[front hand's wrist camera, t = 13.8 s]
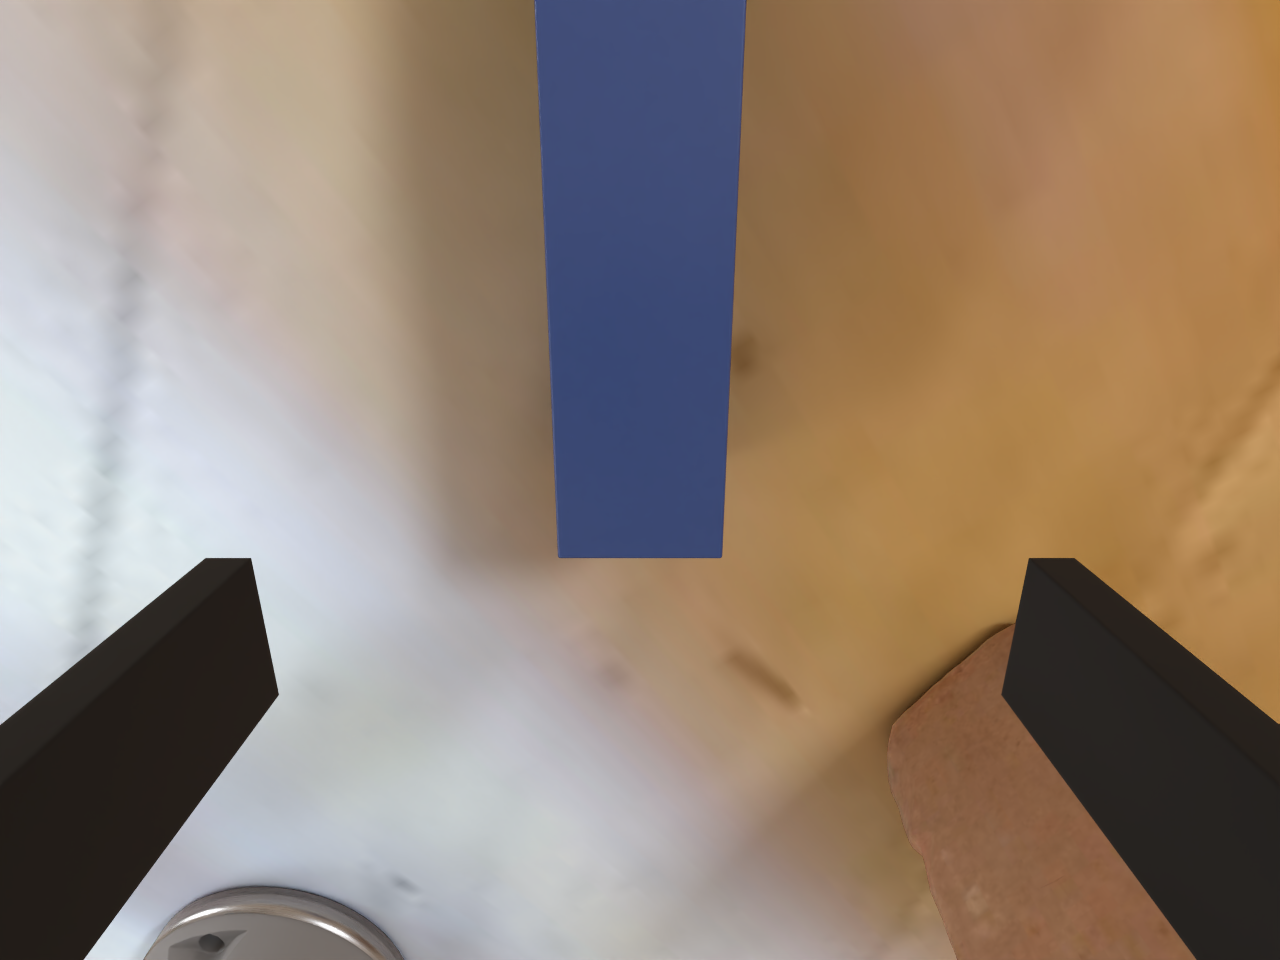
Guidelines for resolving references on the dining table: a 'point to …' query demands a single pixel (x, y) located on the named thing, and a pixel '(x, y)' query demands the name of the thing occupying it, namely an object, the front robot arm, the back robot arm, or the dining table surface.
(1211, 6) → the dining table surface
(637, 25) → the bar
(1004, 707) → the stone
